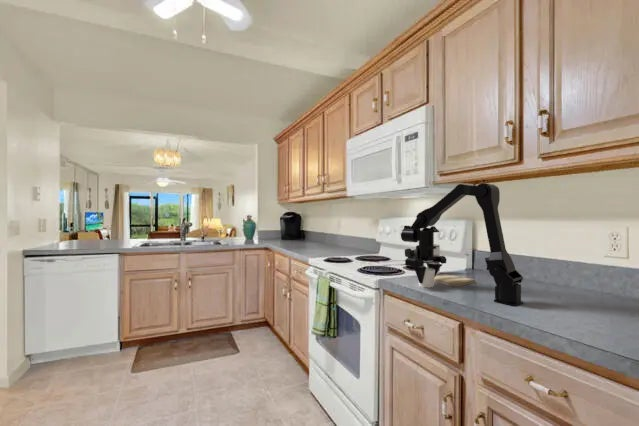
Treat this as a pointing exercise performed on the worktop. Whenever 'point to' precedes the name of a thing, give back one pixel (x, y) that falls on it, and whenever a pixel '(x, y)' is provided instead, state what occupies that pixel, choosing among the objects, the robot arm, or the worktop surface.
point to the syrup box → (436, 252)
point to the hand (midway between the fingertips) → (426, 282)
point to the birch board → (453, 280)
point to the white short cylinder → (428, 278)
